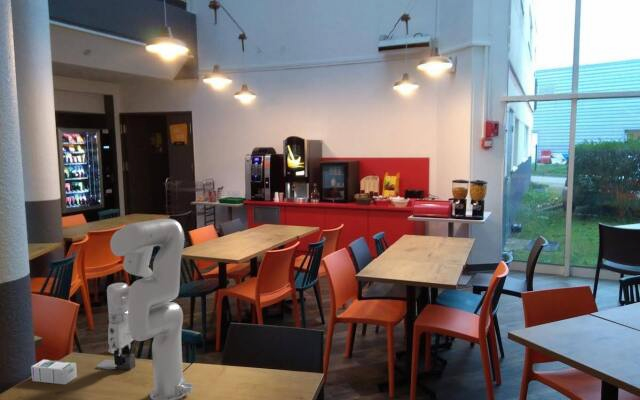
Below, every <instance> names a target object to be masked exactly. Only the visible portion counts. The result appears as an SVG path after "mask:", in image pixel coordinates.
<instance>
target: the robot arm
mask: <svg viewBox="0 0 640 400" xmlns="http://www.w3.org/2000/svg"><path fill="white" fill-rule="evenodd" d="M109 243H110V250H111V252H112V254H113V255H115V256H116V257H124V259H123V263H122V267H123V269H124V271H125V272H126V273H128V274H130V275H131V276H132V275H133V276H137V277H142V278H140V279H137V280H135V281H133V283H132V284H131V285H128V283H125V282H114V283H111V284H109V285H108V286H107V289H106V297H107V309H108V321H109V322H108V327H107V331H108V332H107V333H108V334H107V337H108V339H107V340H108V342H107V343H108V347H109V348H108V352H107V353H110V354H112V356H113V360H114V361H115V365H123V356H122V355H121V353H126V354H131V348H132V342H133V341H137V342H143V341H146V340H148V339H153V340H152V344H151V357H152V372H153V373H152V375H153V388H152V389H151V390H150V392H149V398H150V400H181V399H182V398H184V397H185V396H186V395H187V394H188V393H189V394H192V393H193V392H194V383H191V382H190V383H188V382H187V378H186V377H184V369H183V367H184V366H183V351H182V350H183V349H182V329H183V323H184V321H183V320H184V313H183V309H182V307H181V306H180V305H179V304H178V303H176V302H173V301H174V300H175V299H177V297H179V293H180V285H181V284H180V283H181V260H182V255H183V251H184V247H185V232H184V229H183V226H182V225H181V223H180V222H178V220H176V219H174V218H173V219H172V218H159V219H152V220H147V221H139V222H138V221H137V222H133V223H129V224H126V226H124V227H122V228H120V229H119V230H116V231H114V233H113V234H112V236H111V238H110V242H109ZM157 246H161V247H160V249H158V251H157V253H156V255H155V257H154V259H153V261H152V264H153V265H152V269H151V268H150V267H149V266H150V262H151V258H152V254H153V250H154V247H157Z"/></svg>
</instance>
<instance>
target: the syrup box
mask: <svg viewBox="0 0 640 400" xmlns="http://www.w3.org/2000/svg"><path fill="white" fill-rule="evenodd" d="M30 373H31V381H32V382H37V383H48V384H57V385H68V384H69V383H70V382H72V381H73V380H75V379H76V378H77V376H78V375H77V374H78V372H77V363H76V362H72V361H63V360H53V359H52V360H51V359H42V360H40V361H39V362H36V363H35V364H33V365H31V366H30Z"/></svg>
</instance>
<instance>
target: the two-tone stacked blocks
mask: <svg viewBox="0 0 640 400" xmlns="http://www.w3.org/2000/svg"><path fill="white" fill-rule="evenodd" d="M121 355H122V356H123V365H115V361H114V359H103V360H102V361H101V362H99V363H97V365H96V369H101V368H103V369H104V370H111V369H116V368H119V369H118V370H124V369H129V370H128V371H132V370H133V369H135V368H136V355H135V354H134V353H130V354H126V353H122V352H121ZM103 369H102V370H103ZM131 369H132V370H131ZM116 370H117V369H116Z"/></svg>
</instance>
